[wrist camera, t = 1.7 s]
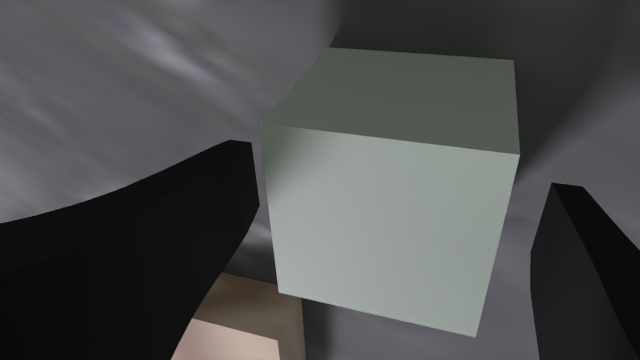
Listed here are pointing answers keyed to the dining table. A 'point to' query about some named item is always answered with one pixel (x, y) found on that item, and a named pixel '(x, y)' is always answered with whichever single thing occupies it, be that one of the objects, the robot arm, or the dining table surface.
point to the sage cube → (392, 182)
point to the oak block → (244, 323)
